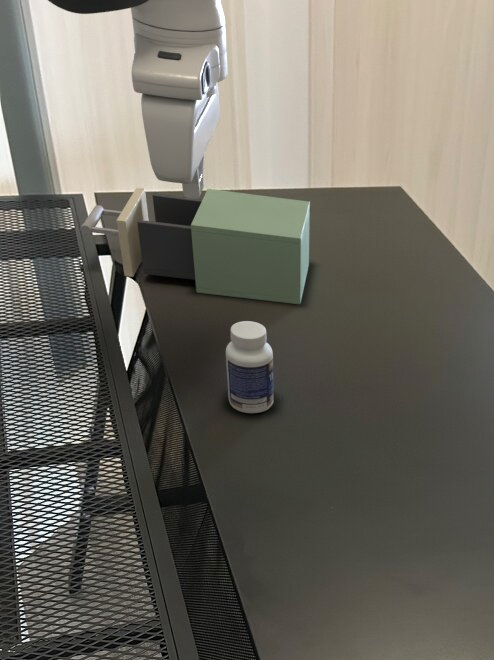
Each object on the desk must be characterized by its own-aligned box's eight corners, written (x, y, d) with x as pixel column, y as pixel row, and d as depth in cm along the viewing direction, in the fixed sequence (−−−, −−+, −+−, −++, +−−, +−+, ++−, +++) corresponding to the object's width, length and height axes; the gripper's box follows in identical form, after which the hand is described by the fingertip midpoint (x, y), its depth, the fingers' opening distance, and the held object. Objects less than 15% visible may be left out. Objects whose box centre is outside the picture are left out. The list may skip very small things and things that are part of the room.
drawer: (82, 271, 119) (71, 214, 113) (103, 236, 127) (95, 182, 121) (222, 287, 121) (219, 232, 115) (235, 252, 129) (232, 199, 123)
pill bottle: (279, 411, 104) (278, 338, 97) (235, 417, 101) (232, 344, 94) (266, 387, 107) (264, 315, 100) (223, 393, 105) (218, 320, 98)
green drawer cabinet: (196, 292, 121) (190, 224, 114) (211, 253, 129) (207, 188, 123) (300, 304, 122) (300, 238, 115) (308, 265, 131) (309, 201, 124)
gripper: (169, 21, 93) (182, 156, 102) (126, 78, 78) (145, 228, 88) (229, 30, 93) (235, 163, 103) (196, 87, 79) (207, 235, 89)
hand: (193, 193), depth 96 cm, fingers closed
